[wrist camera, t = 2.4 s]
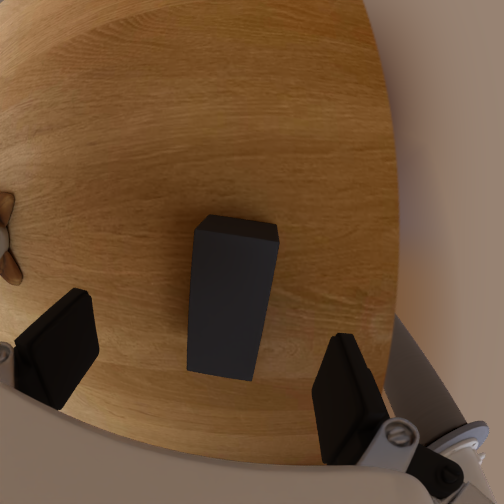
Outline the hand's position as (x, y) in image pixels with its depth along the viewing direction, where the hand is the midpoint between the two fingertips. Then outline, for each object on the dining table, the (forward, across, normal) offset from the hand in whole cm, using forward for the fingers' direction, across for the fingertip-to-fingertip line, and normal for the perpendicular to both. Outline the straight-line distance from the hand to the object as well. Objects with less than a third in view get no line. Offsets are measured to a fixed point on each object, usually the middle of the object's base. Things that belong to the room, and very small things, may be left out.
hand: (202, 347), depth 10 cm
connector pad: (+12, 0, +3) cm, 13 cm away
